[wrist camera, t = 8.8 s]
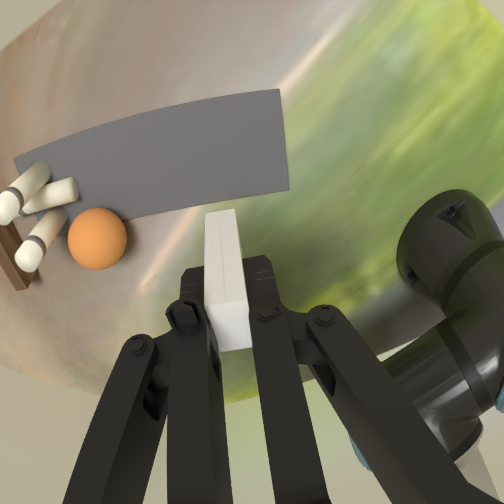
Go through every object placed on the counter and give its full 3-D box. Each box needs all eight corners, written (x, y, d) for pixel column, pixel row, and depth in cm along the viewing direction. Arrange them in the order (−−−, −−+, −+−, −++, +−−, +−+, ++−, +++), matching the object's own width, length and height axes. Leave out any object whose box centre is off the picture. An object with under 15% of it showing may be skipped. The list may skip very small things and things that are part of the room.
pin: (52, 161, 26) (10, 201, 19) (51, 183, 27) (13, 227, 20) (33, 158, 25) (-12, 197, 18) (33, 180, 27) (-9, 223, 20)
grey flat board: (279, 88, 25) (279, 88, 25) (289, 189, 31) (289, 189, 31) (14, 158, 25) (13, 158, 25) (47, 237, 31) (47, 238, 31)
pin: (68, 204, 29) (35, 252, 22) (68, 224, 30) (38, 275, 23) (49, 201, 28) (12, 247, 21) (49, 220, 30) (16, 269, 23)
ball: (79, 195, 29) (103, 195, 25) (119, 225, 33) (148, 231, 30) (50, 246, 27) (68, 256, 23) (93, 273, 32) (118, 286, 28)
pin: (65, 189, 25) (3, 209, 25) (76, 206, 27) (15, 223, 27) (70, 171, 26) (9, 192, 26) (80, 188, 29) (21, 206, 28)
